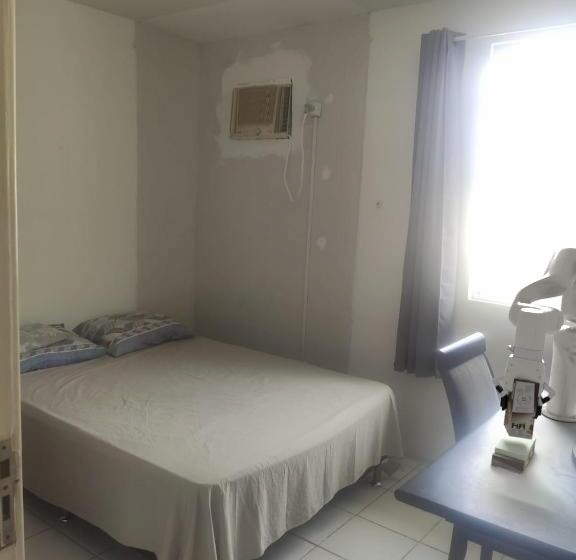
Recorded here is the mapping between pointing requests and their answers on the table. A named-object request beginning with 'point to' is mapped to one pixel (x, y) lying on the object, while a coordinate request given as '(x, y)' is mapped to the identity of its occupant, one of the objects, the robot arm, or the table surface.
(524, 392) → the coffee box
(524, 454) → the pale green tile
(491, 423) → the table surface
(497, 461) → the grayish brown block
